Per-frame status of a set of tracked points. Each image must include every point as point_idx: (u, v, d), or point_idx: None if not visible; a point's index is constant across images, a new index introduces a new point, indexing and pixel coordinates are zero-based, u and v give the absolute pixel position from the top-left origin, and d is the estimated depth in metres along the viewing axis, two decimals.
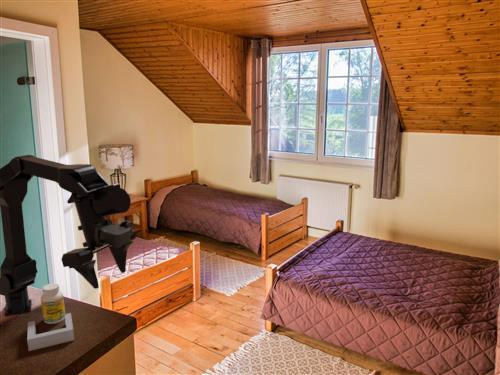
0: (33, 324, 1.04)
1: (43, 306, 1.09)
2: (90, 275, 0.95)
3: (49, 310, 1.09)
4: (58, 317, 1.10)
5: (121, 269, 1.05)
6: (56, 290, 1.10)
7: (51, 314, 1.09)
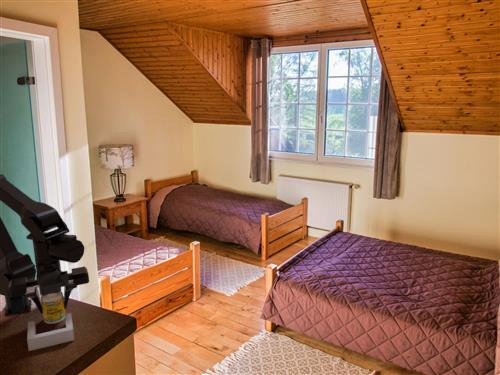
0: (33, 324, 1.04)
1: (43, 306, 1.09)
2: None
3: (49, 310, 1.09)
4: (58, 317, 1.10)
5: (64, 305, 1.13)
6: None
7: (51, 314, 1.09)
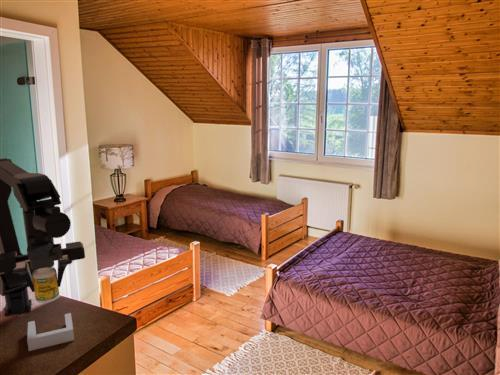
0: (33, 324, 1.04)
1: (34, 283, 1.00)
2: None
3: (41, 288, 1.00)
4: (51, 295, 1.01)
5: None
6: None
7: (43, 292, 1.00)
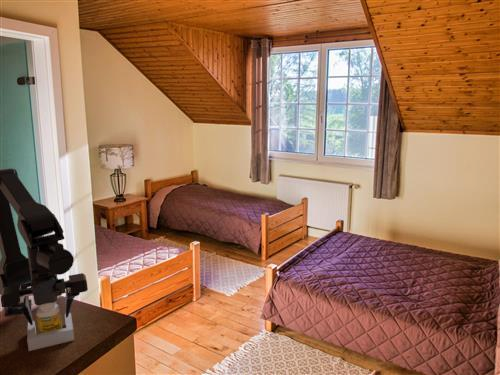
0: (33, 324, 1.04)
1: (39, 321, 1.02)
2: None
3: (45, 326, 1.02)
4: None
5: None
6: (52, 304, 1.02)
7: (47, 330, 1.02)
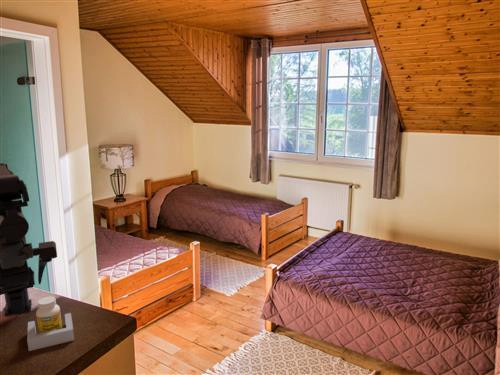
0: (33, 324, 1.04)
1: (39, 321, 1.02)
2: None
3: (45, 326, 1.02)
4: None
5: (38, 280, 1.06)
6: (52, 304, 1.02)
7: (47, 330, 1.02)
